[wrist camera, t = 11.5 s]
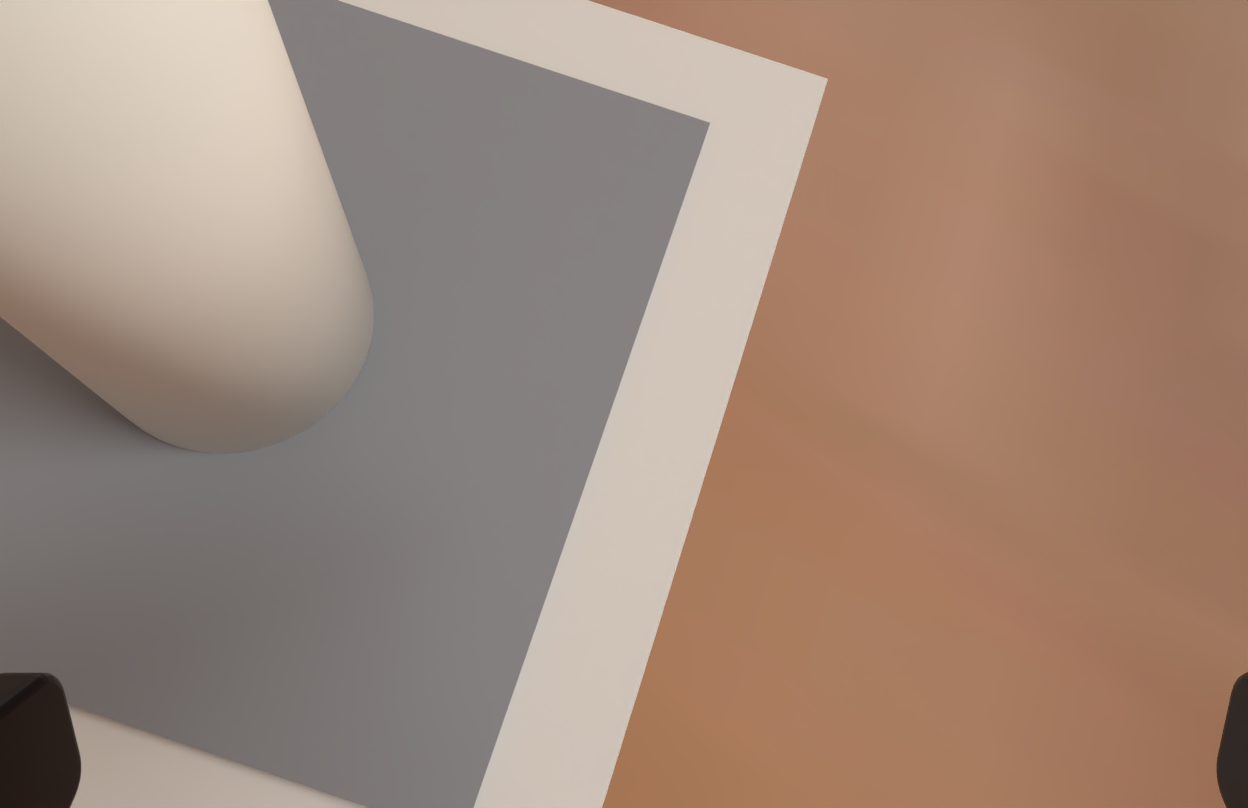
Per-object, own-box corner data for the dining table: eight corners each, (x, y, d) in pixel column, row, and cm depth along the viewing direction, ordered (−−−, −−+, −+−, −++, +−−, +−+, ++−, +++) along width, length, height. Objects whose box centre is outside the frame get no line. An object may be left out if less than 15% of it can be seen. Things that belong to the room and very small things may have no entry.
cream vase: (105, 480, 19) (-747, -47, 6) (76, 222, 20) (-667, -629, 8) (396, 420, 19) (147, -160, 7) (350, 175, 21) (72, -671, 8)
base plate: (-402, 652, 20) (-543, 638, 17) (62, -100, 25) (8, -196, 23) (537, 978, 19) (538, 1014, 17) (799, 142, 25) (830, 73, 22)
